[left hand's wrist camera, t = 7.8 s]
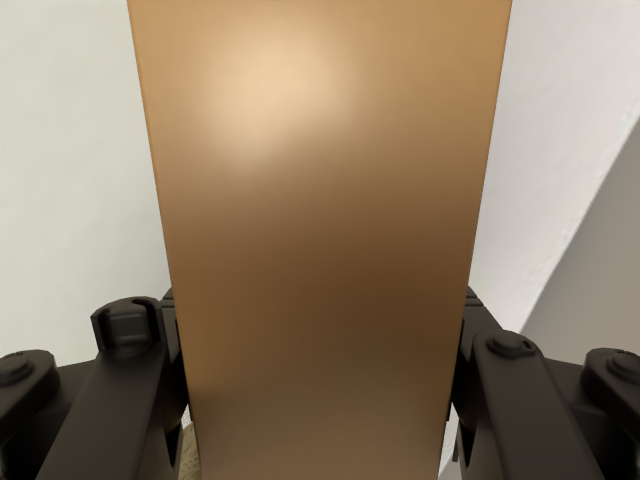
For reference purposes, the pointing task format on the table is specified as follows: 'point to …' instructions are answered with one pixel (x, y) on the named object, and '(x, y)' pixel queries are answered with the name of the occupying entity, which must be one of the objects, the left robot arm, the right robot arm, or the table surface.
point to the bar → (319, 220)
